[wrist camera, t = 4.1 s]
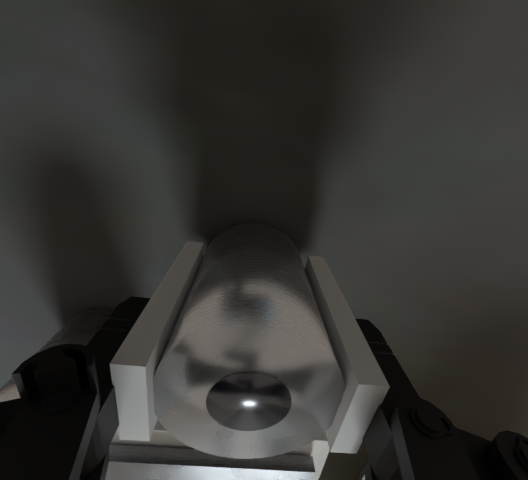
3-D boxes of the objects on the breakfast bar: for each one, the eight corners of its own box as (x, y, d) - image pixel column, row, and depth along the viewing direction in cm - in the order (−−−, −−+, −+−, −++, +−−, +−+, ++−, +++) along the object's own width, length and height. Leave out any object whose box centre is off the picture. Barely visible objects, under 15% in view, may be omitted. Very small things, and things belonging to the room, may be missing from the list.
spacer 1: (205, 216, 12) (145, 318, 5) (310, 229, 12) (370, 338, 6) (201, 304, 14) (152, 456, 7) (291, 312, 14) (321, 464, 8)
